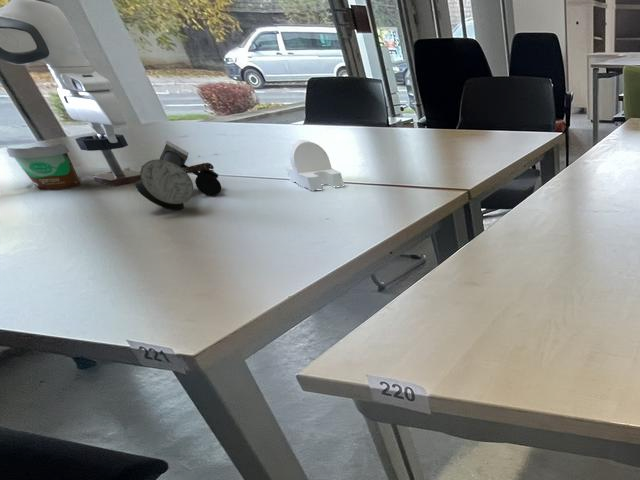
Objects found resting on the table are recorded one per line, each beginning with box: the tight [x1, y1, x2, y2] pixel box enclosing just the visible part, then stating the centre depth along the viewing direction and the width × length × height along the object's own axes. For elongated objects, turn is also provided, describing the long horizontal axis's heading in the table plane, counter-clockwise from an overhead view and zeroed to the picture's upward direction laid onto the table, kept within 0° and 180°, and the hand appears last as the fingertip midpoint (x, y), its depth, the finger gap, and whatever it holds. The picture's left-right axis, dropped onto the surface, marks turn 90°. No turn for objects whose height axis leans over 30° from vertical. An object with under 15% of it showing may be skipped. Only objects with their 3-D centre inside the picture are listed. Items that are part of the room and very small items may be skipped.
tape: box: [74, 133, 129, 152], centre depth 141 cm, size 10×10×2 cm
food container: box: [6, 142, 82, 191], centre depth 136 cm, size 12×6×10 cm, turn 129°
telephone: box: [134, 140, 222, 212], centre depth 130 cm, size 15×13×30 cm
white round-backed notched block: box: [285, 139, 345, 191], centre depth 146 cm, size 10×18×11 cm, turn 44°
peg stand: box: [91, 133, 141, 186], centre depth 143 cm, size 9×9×12 cm
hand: (109, 142), depth 139 cm, fingers closed on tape, 2 cm apart
